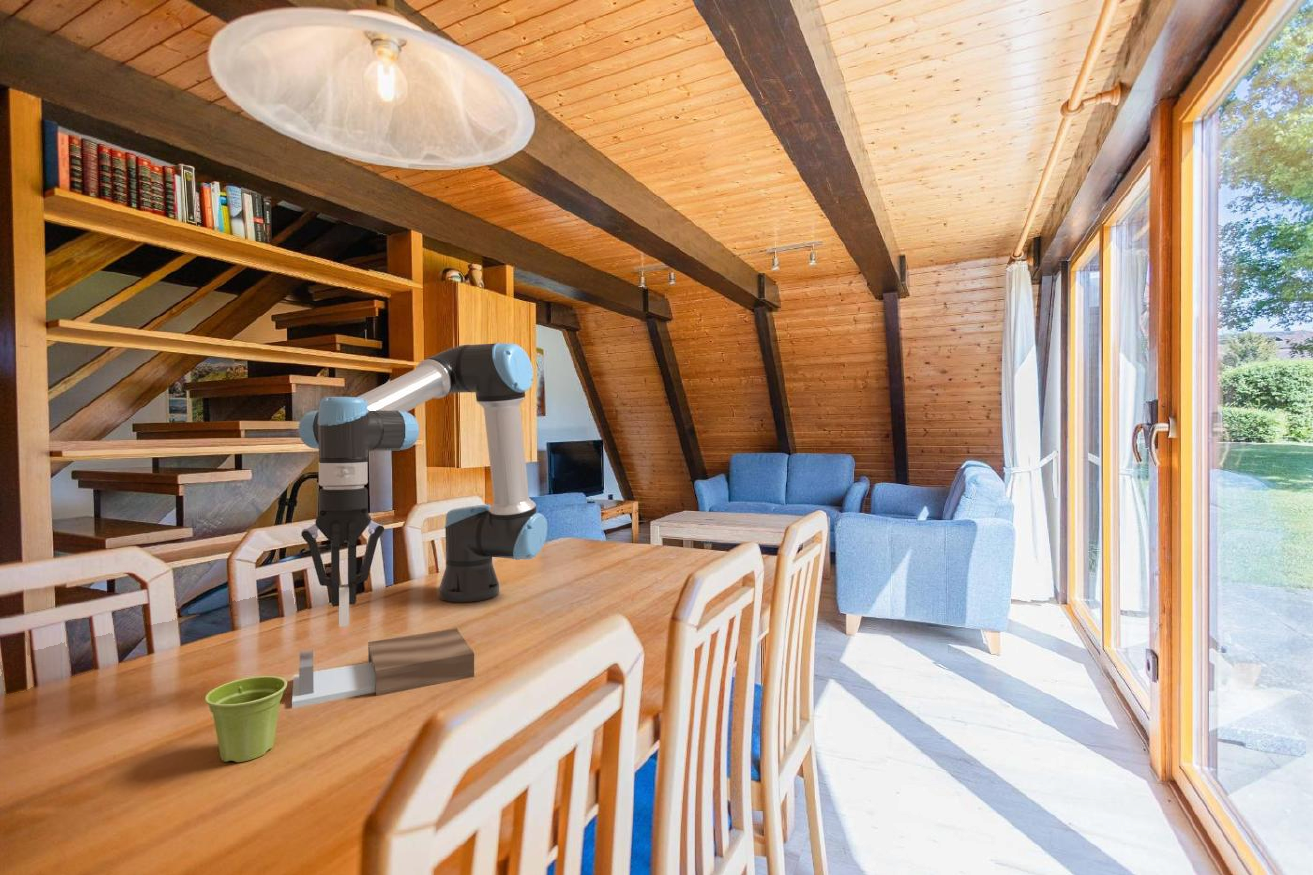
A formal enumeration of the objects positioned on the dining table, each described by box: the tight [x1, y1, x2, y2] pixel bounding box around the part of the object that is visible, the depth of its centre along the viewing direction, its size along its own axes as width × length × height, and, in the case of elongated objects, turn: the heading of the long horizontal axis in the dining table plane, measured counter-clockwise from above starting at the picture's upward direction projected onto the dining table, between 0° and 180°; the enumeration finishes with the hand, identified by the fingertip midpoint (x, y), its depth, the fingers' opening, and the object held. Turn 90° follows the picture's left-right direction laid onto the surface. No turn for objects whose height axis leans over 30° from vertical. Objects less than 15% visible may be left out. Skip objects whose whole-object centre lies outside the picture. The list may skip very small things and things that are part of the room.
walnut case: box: [367, 628, 475, 696], centre depth 114 cm, size 15×16×4 cm
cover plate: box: [291, 650, 375, 709], centre depth 110 cm, size 12×24×6 cm, turn 119°
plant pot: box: [204, 675, 288, 763], centre depth 86 cm, size 9×9×9 cm
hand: (343, 623), depth 107 cm, fingers closed
